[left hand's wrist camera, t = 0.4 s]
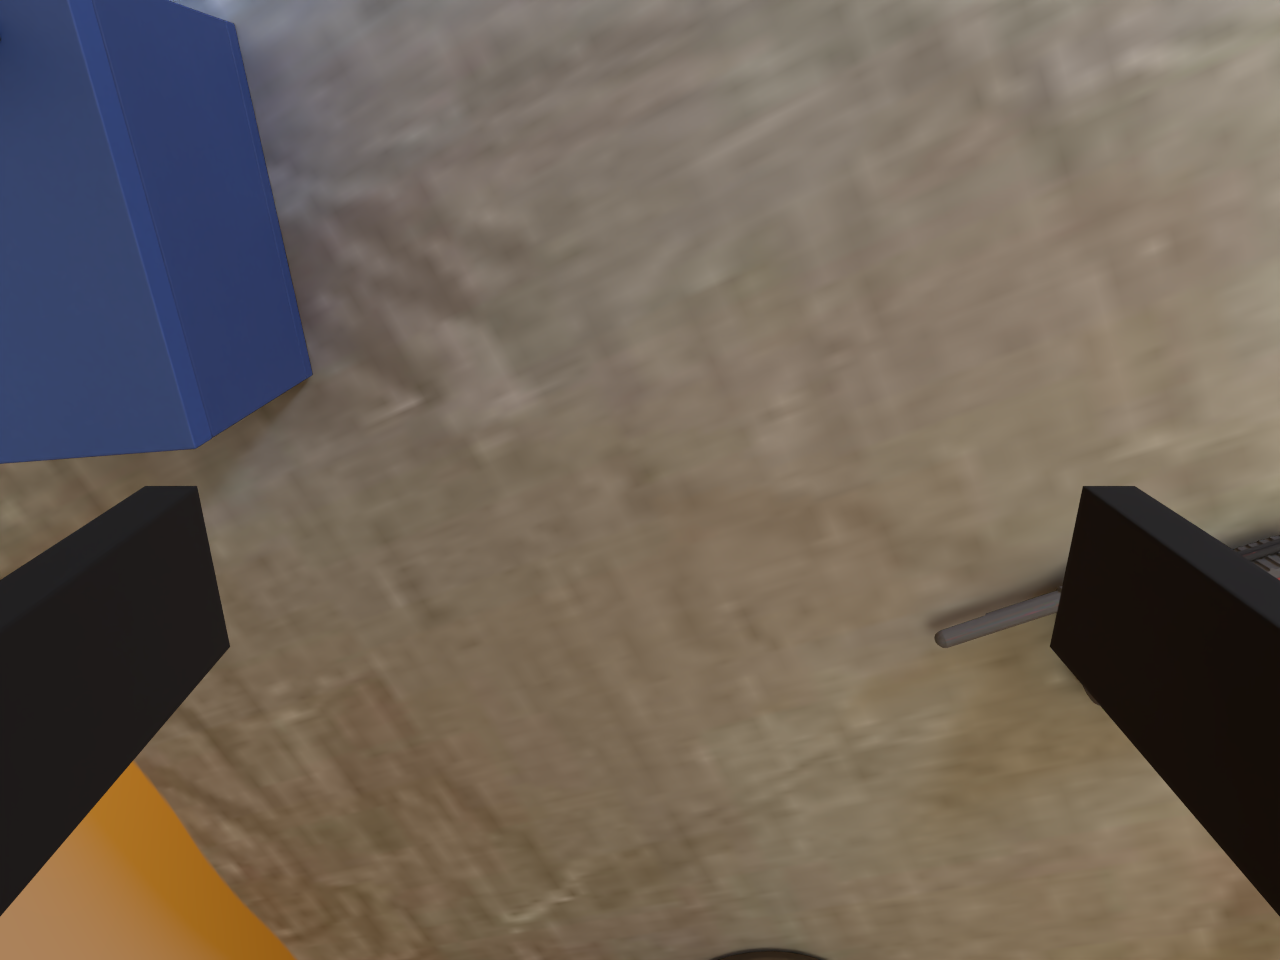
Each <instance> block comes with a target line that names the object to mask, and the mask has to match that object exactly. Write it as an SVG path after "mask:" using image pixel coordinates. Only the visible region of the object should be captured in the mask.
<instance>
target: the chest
mask: <svg viewBox="0 0 1280 960" xmlns="http://www.w3.org/2000/svg"><path fill="white" fill-rule="evenodd" d="M92 3H93V7H94V11H95V14H96V18H97V22H98V25H99V29H100V33H101V36H102V40H103V43H104V47H105V51H106V54H107V58H108V62H109V65H110V69H111V72H112V76H113V80H114V83H115V87H116V91H117V94H118V98H119V102H120V105H121V109H122V112H123V116H124V120H125V123H126V127H127V131H128V134H129V138H130V142H131V145H132V149H133V152H134V156H135V160H136V163H137V167H138V171H139V174H140V178H141V182H142V185H143V189H144V192H145V196H146V200H147V203H148V207H149V211H150V214H151V218H152V221H153V225H154V229H155V232H156V236H157V240H158V243H159V247H160V251H161V254H162V258H163V261H164V265H165V269H166V272H167V276H168V280H169V283H170V287H171V291H172V294H173V298H174V301H175V305H176V309H177V312H178V316H179V320H180V323H181V327H182V330H183V334H184V338H185V341H186V345H187V349H188V352H189V356H190V360H191V363H192V367H193V370H194V374H195V378H196V381H197V385H198V389H199V392H200V396H201V400H202V403H203V407H204V410H205V414H206V418H207V421H208V425H209V429H210V432H211V436H212V438H213V437H214V436H216V435H218V434H219V433H221V432H222V431H224V430H226V429H227V428H229V427H230V426H232V425H234V424H235V423H237V422H238V421H240V420H241V419H243V418H245V417H246V416H248V415H249V414H251V413H253V412H254V411H256V410H257V409H259V408H261V407H262V406H264V405H265V404H267V403H269V402H270V401H272V400H273V399H275V398H277V397H278V396H280V395H281V394H283V393H285V392H286V391H288V390H289V389H291V388H293V387H294V386H296V385H297V384H299V383H300V382H302V381H304V380H305V379H307V378H309V377H310V376H312V370H311V365H310V361H309V356H308V352H307V347H306V343H305V338H304V334H303V329H302V325H301V320H300V316H299V311H298V307H297V302H296V298H295V294H294V289H293V285H292V280H291V276H290V271H289V267H288V262H287V258H286V253H285V249H284V244H283V240H282V235H281V231H280V227H279V222H278V218H277V213H276V209H275V204H274V200H273V195H272V191H271V186H270V182H269V177H268V173H267V168H266V164H265V159H264V155H263V151H262V146H261V142H260V137H259V133H258V128H257V124H256V119H255V115H254V110H253V106H252V101H251V97H250V92H249V88H248V83H247V79H246V75H245V70H244V66H243V61H242V57H241V52H240V48H239V43H238V39H237V34H236V30H235V25H234V24H233V23H230V22H228V21H224V20H222V19H219V18H216V17H213V16H210V15H208V14H205V13H202V12H199V11H196V10H194V9H191V8H188V7H185V6H182V5H180V4H177V3H174V2H171V1H168V0H92Z"/></svg>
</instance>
